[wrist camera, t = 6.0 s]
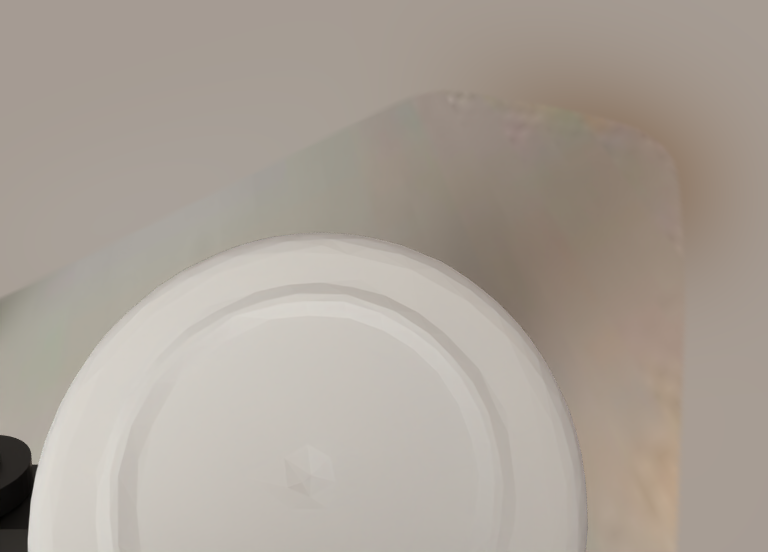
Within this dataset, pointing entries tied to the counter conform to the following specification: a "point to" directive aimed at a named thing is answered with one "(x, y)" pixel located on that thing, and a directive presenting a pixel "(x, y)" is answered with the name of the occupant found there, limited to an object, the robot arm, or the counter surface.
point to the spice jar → (312, 415)
